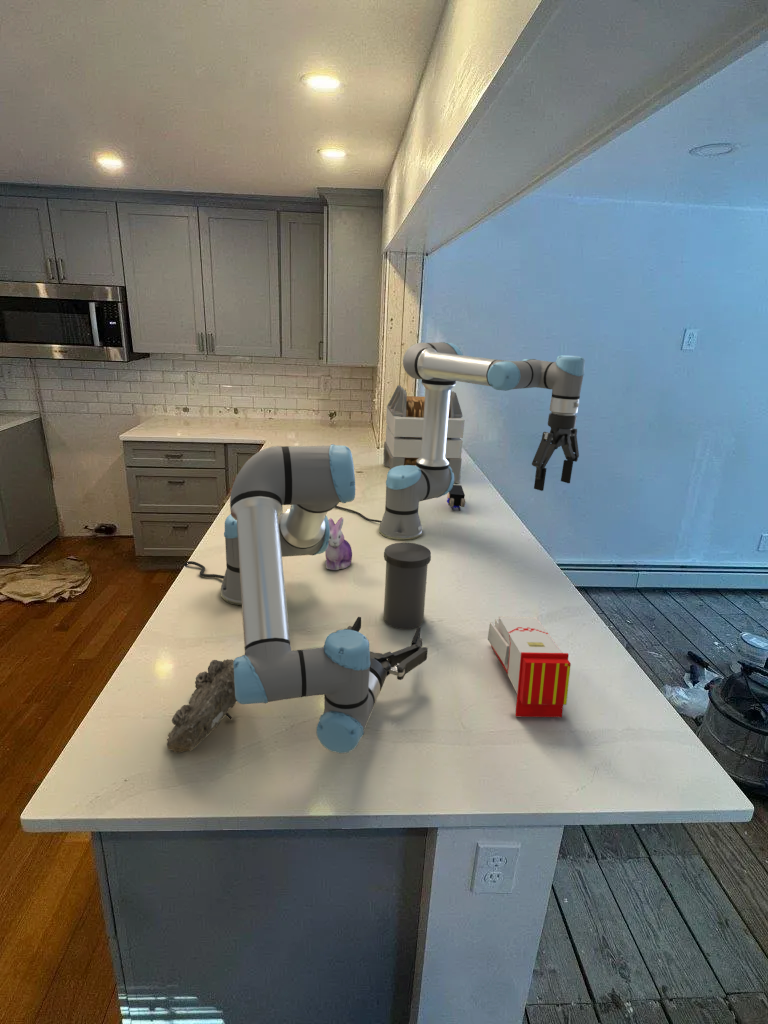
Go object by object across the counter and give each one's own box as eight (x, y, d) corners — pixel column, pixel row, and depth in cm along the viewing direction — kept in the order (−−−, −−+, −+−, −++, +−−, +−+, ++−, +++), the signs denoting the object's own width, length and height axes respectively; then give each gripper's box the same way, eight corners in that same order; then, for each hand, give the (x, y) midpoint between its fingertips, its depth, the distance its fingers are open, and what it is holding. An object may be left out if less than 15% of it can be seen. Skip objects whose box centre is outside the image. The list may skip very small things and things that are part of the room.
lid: (417, 572, 132) (418, 565, 132) (375, 560, 138) (375, 553, 137) (438, 556, 142) (438, 549, 141) (397, 545, 147) (398, 538, 146)
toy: (534, 602, 136) (579, 659, 107) (529, 653, 139) (572, 723, 110) (484, 601, 136) (516, 658, 107) (480, 652, 139) (510, 722, 109)
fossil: (192, 660, 117) (244, 628, 112) (224, 691, 120) (276, 661, 115) (142, 746, 98) (202, 712, 93) (182, 779, 101) (242, 748, 96)
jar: (412, 633, 139) (416, 565, 133) (376, 621, 144) (379, 555, 137) (430, 615, 147) (435, 551, 141) (395, 604, 152) (399, 541, 146)
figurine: (330, 573, 167) (330, 526, 162) (317, 560, 176) (317, 515, 171) (359, 568, 172) (360, 522, 167) (345, 555, 180) (346, 511, 175)
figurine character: (465, 515, 224) (460, 499, 237) (467, 498, 221) (462, 483, 234) (448, 515, 224) (444, 499, 237) (450, 498, 220) (445, 482, 234)
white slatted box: (382, 463, 289) (386, 382, 275) (445, 464, 293) (451, 384, 279) (390, 482, 257) (394, 392, 243) (460, 483, 261) (468, 394, 247)
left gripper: (300, 687, 111) (335, 632, 130) (425, 712, 105) (442, 651, 125) (299, 654, 108) (335, 603, 128) (428, 678, 103) (445, 621, 122)
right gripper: (548, 419, 148) (537, 496, 155) (598, 411, 163) (586, 482, 171) (525, 414, 153) (515, 489, 160) (575, 407, 169) (564, 476, 176)
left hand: (388, 627), depth 126 cm, fingers open, 13 cm apart
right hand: (552, 485), depth 166 cm, fingers open, 13 cm apart
